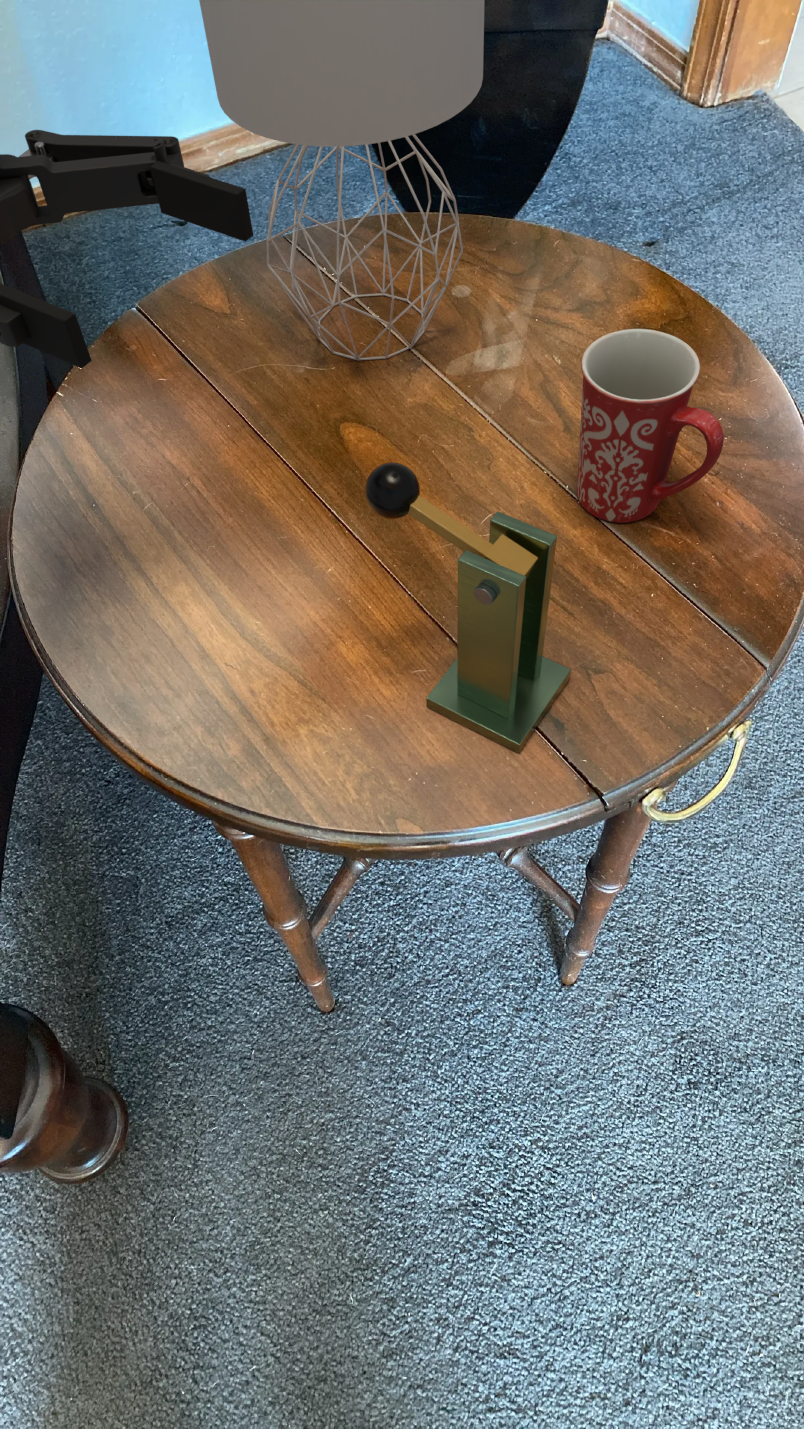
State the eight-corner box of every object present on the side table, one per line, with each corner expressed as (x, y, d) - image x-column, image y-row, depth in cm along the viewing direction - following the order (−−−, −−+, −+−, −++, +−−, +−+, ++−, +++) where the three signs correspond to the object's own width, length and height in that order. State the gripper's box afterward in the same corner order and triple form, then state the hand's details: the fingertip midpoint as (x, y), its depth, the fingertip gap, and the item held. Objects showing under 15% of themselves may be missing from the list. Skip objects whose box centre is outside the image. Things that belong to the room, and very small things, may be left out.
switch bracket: (426, 706, 74) (419, 563, 61) (479, 636, 77) (485, 486, 64) (518, 753, 71) (532, 614, 58) (570, 678, 74) (594, 530, 61)
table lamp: (226, 312, 103) (117, -186, 70) (403, 242, 109) (379, -248, 76) (331, 425, 92) (260, -104, 59) (521, 339, 98) (554, -184, 65)
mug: (543, 494, 86) (556, 363, 75) (611, 445, 89) (634, 312, 78) (655, 570, 80) (688, 441, 69) (724, 515, 83) (765, 383, 72)
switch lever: (350, 509, 64) (358, 474, 61) (380, 477, 66) (389, 441, 63) (502, 611, 63) (518, 581, 60) (529, 576, 65) (546, 545, 62)
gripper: (69, 152, 68) (312, 232, 61) (-231, 339, 57) (24, 464, 50) (31, 29, 62) (296, 102, 55) (-314, 212, 51) (-37, 334, 43)
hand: (167, 275), depth 52 cm, fingers open, 13 cm apart
